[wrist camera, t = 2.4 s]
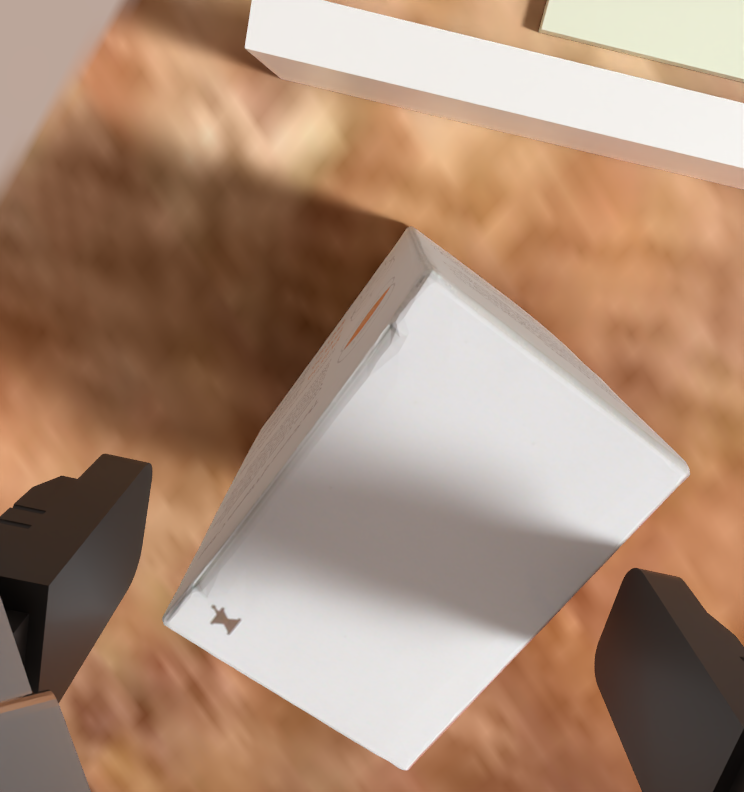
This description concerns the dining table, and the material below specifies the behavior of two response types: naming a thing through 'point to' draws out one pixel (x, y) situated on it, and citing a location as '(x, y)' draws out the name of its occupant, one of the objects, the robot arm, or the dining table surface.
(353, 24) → the white wall
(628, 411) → the small box
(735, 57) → the sage mat
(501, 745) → the dining table surface
